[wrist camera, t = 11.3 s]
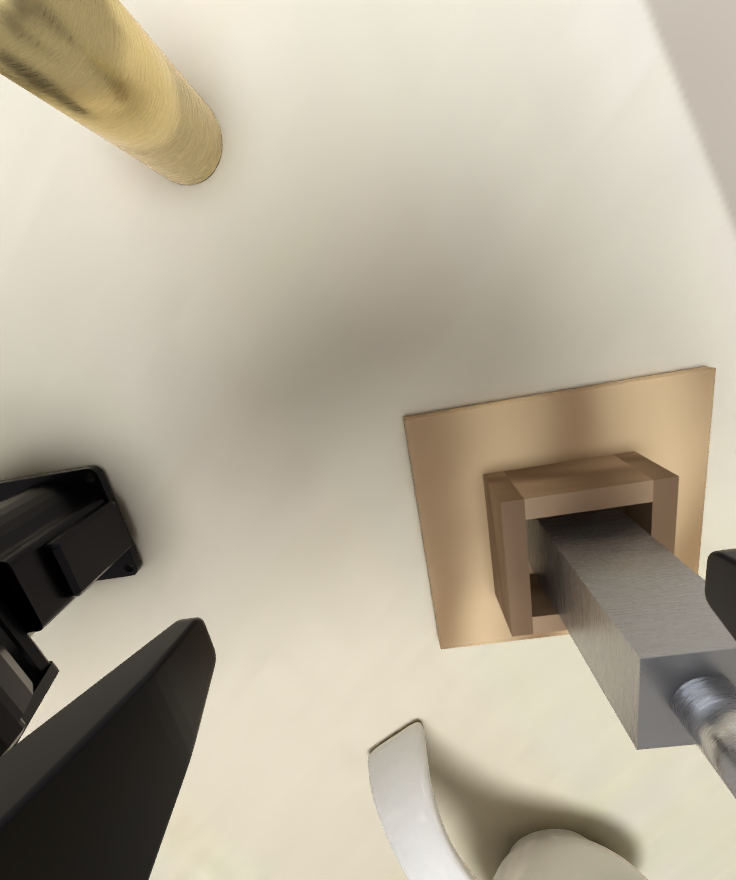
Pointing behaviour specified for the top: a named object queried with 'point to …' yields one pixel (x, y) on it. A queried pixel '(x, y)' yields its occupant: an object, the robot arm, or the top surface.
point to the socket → (551, 489)
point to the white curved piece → (428, 846)
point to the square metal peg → (642, 631)
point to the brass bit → (110, 82)
